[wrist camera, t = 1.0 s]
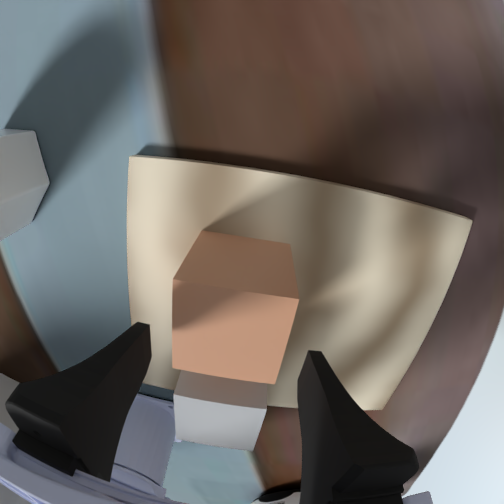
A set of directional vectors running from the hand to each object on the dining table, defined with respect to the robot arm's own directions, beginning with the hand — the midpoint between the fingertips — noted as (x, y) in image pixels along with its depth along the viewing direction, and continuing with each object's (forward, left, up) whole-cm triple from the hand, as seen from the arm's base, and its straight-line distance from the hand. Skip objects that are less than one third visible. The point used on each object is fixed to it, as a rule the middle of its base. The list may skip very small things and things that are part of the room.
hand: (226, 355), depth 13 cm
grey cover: (0, -8, -8) cm, 11 cm away
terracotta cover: (0, 0, -8) cm, 8 cm away
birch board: (+4, -3, -9) cm, 10 cm away
